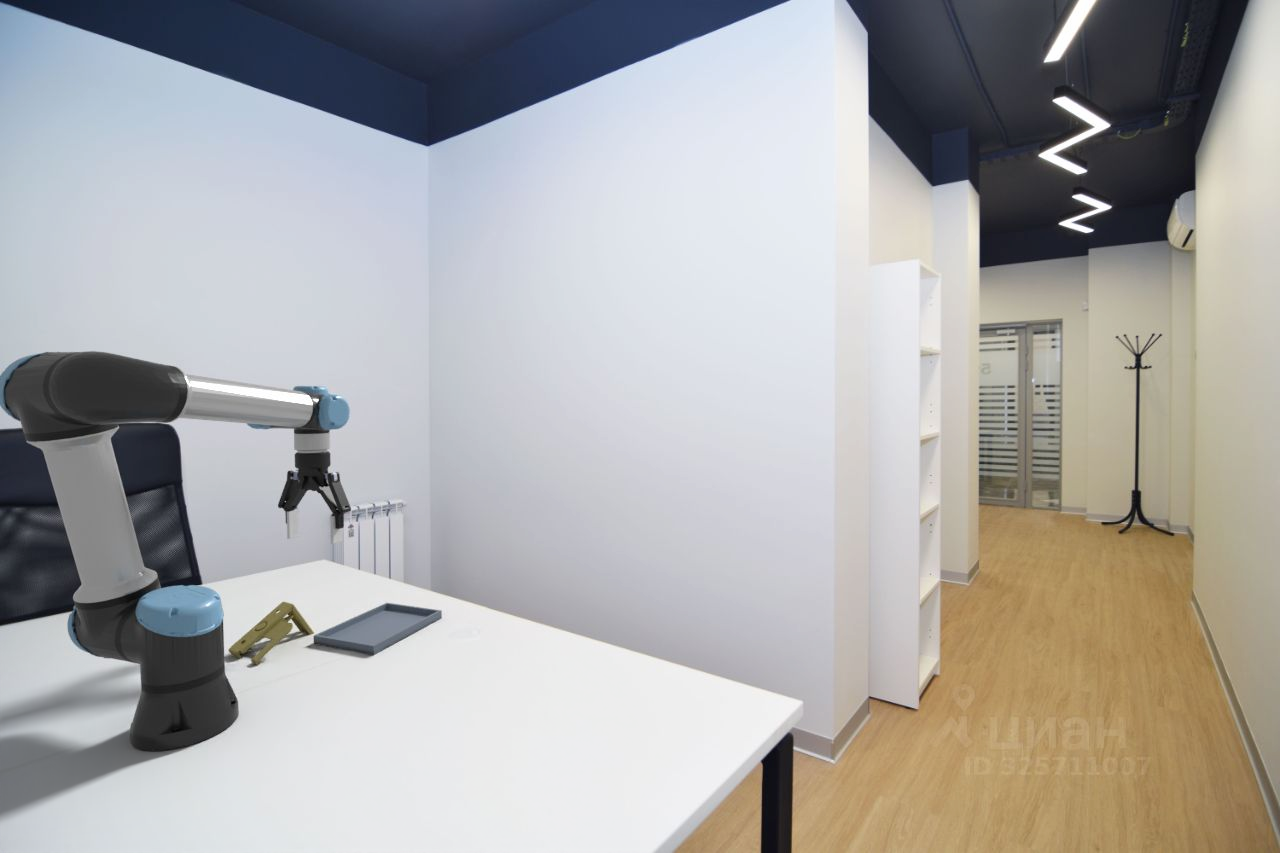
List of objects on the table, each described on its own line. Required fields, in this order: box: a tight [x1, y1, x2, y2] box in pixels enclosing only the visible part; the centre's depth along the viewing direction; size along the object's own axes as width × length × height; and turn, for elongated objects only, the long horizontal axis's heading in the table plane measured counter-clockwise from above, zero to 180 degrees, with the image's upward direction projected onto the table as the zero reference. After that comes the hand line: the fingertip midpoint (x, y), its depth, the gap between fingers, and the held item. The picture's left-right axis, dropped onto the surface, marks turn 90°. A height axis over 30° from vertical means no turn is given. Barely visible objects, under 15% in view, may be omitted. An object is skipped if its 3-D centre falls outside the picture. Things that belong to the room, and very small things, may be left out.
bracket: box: [228, 601, 315, 666], centre depth 141 cm, size 10×14×10 cm
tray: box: [313, 602, 443, 656], centre depth 151 cm, size 23×17×2 cm
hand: (314, 540), depth 150 cm, fingers open, 13 cm apart
